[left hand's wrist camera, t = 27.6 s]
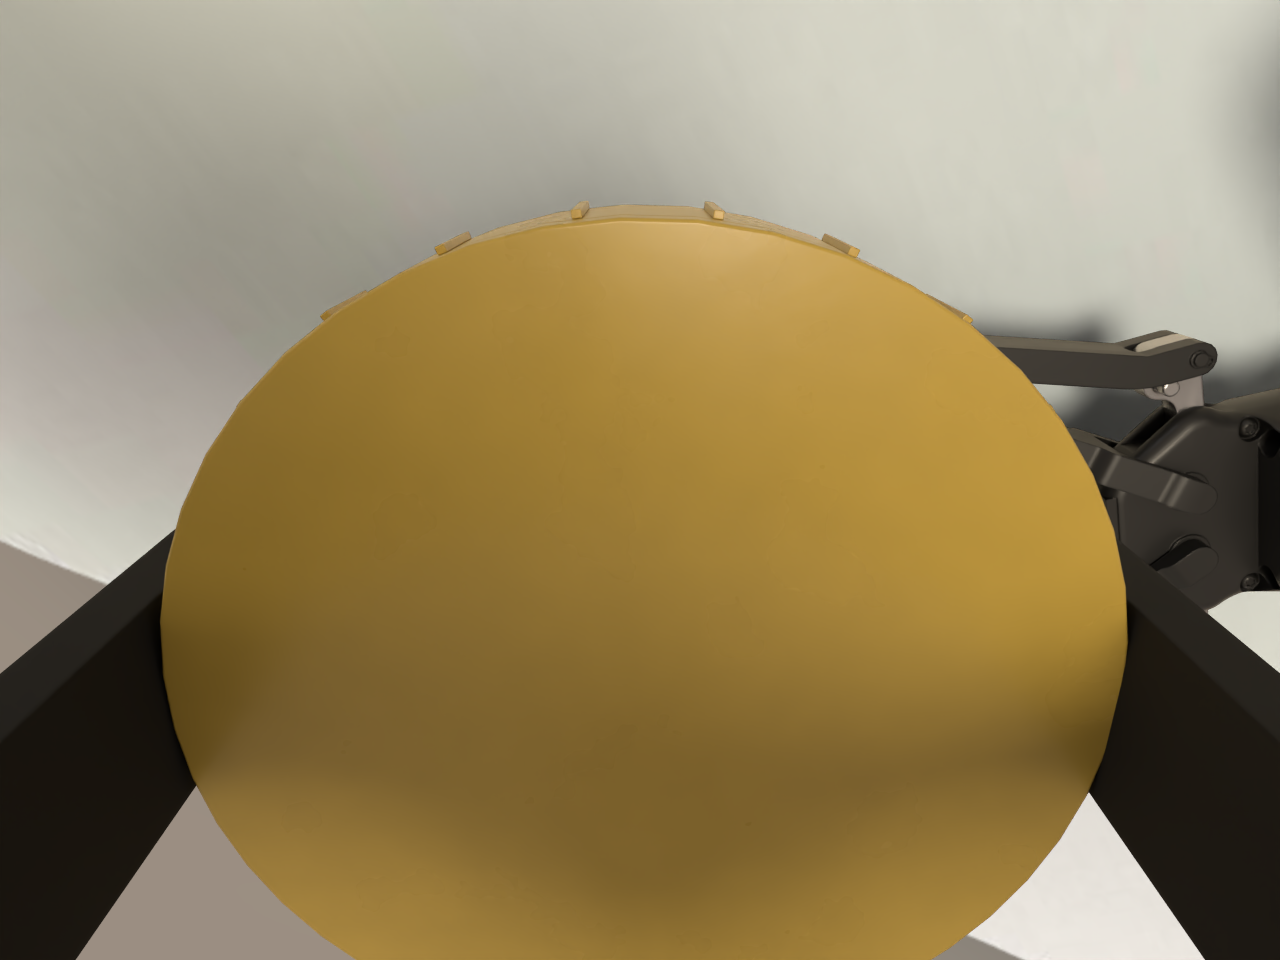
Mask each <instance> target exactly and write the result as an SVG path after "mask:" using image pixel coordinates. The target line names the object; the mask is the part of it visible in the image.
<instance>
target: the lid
mask: <svg viewBox="0 0 1280 960" xmlns="http://www.w3.org/2000/svg"><path fill="white" fill-rule="evenodd" d="M435 250H436V252H437V254H435V255H433V256H431V257H429V258H427V259H425V260H424V261H422V262H420V263H418V264H416V265H414V266H412V267H410V268H409V269H407V270H405V271H403V272H401V273H399V274H398V275H396V276H394V277H392V278H391V279H389V280H387V281H386V282H384V283H382V284H381V285H379V286H377V287H375V288H374V289H372V290H370V291H369V292H367V291H366V290H365V291H363V292H361V293H359V294H357V295H355V296H353V297H352V298H350V299H348V300H346V301H344V302H342V303H340V304H338V305H336V306H335V307H333V308H331V309H329V310H327V311H326V312H324V313H323V314H322V315H321V316H320V317H321V318H322V319H323V320H324V321H323V322H322V323H321V324H320V325H318V326H317V327H316V328H315V329H314V330H312V331H311V332H310V333H309V334H307V335H306V336H305V337H304V338H302V339H301V340H300V341H299V342H297V343H296V344H295V345H294V346H293V347H291V348H290V349H289V350H288V351H286V352H285V353H284V354H283V355H282V356H281V358H280V359H279V360H278V361H277V362H276V363H275V364H274V365H273V366H272V367H271V369H270V370H269V371H268V372H267V373H266V374H265V375H264V376H263V377H262V378H261V379H260V381H259V382H258V383H257V384H256V385H255V386H254V387H253V388H252V389H251V390H250V392H249V393H248V394H247V395H246V396H245V397H244V398H243V399H242V400H241V401H240V402H239V404H238V405H237V408H236V409H235V411H234V412H233V414H232V415H231V417H230V418H229V420H228V421H227V423H226V424H225V426H224V427H223V429H222V430H221V432H220V433H219V435H218V436H217V438H216V439H215V441H214V442H213V444H212V445H211V447H210V449H209V450H208V452H207V453H206V455H205V457H204V459H203V462H202V464H201V466H200V468H199V470H198V473H197V475H196V477H195V479H194V481H193V484H192V486H191V488H190V490H189V493H188V495H187V497H186V499H185V501H184V504H183V506H182V508H181V511H180V515H179V519H178V522H177V526H176V530H175V534H174V537H173V541H172V545H171V548H170V552H169V556H168V560H167V563H166V570H165V579H164V589H163V599H162V609H161V618H160V629H161V647H162V665H163V678H164V683H165V688H166V692H167V697H168V702H169V707H170V711H171V716H172V721H173V725H174V729H175V732H176V735H177V738H178V740H179V743H180V746H181V748H182V751H183V754H184V756H185V759H186V762H187V765H188V767H189V770H190V773H191V775H192V778H193V780H194V782H195V784H196V785H197V787H198V789H199V791H200V793H201V795H202V796H203V798H204V800H205V802H206V804H207V806H208V808H209V809H210V811H211V813H212V815H213V817H214V819H215V821H216V823H217V824H218V825H219V827H220V828H221V830H222V831H223V832H224V834H225V835H226V837H227V838H228V839H229V841H230V842H231V843H232V845H233V846H234V848H235V849H236V850H237V852H238V853H239V855H240V856H241V857H242V859H243V860H244V862H245V863H246V864H247V866H248V867H249V868H250V869H251V870H252V871H253V872H254V873H255V874H256V875H257V876H258V877H259V879H260V880H261V881H262V882H263V883H264V884H265V885H266V886H267V887H268V888H269V889H270V890H271V891H272V892H273V894H274V895H275V896H276V897H277V898H278V899H279V900H280V901H281V902H282V903H283V904H284V905H285V906H286V907H288V908H289V909H290V910H291V911H292V912H293V913H295V914H296V915H297V916H298V917H299V918H300V919H302V920H303V921H304V922H305V923H306V924H307V925H309V926H310V927H311V928H312V929H313V930H315V931H316V932H317V933H318V934H319V935H320V936H322V937H323V938H325V939H326V940H328V941H329V942H331V943H332V944H334V945H335V946H336V947H338V948H339V949H341V950H342V951H344V952H345V953H347V954H348V955H350V956H351V957H353V958H354V959H356V960H931V959H933V958H934V957H936V956H938V955H939V954H941V953H943V952H944V951H946V950H947V949H949V948H951V947H952V946H953V945H954V944H956V943H957V942H958V941H960V940H961V939H962V938H963V937H965V936H966V935H967V934H969V933H970V932H971V931H972V930H974V929H975V928H976V927H978V926H979V925H980V924H981V923H983V922H984V921H985V920H986V919H988V918H989V917H990V916H991V915H992V914H993V913H995V912H996V911H997V910H998V909H999V908H1000V907H1001V906H1002V905H1003V904H1004V903H1005V902H1006V901H1007V900H1008V899H1009V898H1010V897H1011V896H1012V895H1013V894H1014V893H1015V892H1016V891H1017V890H1018V889H1019V888H1020V887H1021V886H1022V885H1023V884H1024V883H1025V882H1026V881H1027V880H1028V879H1029V878H1030V876H1031V875H1032V874H1033V873H1034V871H1035V870H1036V869H1037V868H1038V866H1039V865H1040V864H1041V863H1042V861H1043V860H1044V859H1045V858H1046V856H1047V855H1048V854H1049V853H1050V851H1051V850H1052V849H1053V848H1054V846H1055V845H1056V844H1057V843H1058V841H1059V840H1060V839H1061V837H1062V835H1063V834H1064V832H1065V830H1066V829H1067V827H1068V825H1069V824H1070V822H1071V820H1072V819H1073V817H1074V816H1075V814H1076V812H1077V811H1078V809H1079V807H1080V806H1081V804H1082V802H1083V801H1084V799H1085V797H1086V796H1087V794H1088V791H1089V789H1090V787H1091V784H1092V782H1093V780H1094V778H1095V775H1096V773H1097V771H1098V768H1099V766H1100V764H1101V761H1102V759H1103V755H1104V752H1105V749H1106V745H1107V740H1108V736H1109V732H1110V728H1111V724H1112V720H1113V716H1114V712H1115V708H1116V703H1117V699H1118V695H1119V691H1120V687H1121V682H1122V678H1123V673H1124V668H1125V663H1126V654H1127V645H1128V635H1127V610H1126V587H1125V582H1124V577H1123V572H1122V567H1121V562H1120V557H1119V552H1118V547H1117V542H1116V537H1115V532H1114V529H1113V526H1112V523H1111V521H1110V518H1109V515H1108V513H1107V510H1106V507H1105V505H1104V502H1103V499H1102V497H1101V494H1100V492H1099V489H1098V486H1097V484H1096V481H1095V478H1094V476H1093V473H1092V472H1091V470H1090V468H1089V466H1088V465H1087V463H1086V461H1085V460H1084V458H1083V456H1082V454H1081V453H1080V451H1079V449H1078V447H1077V446H1076V444H1075V442H1074V440H1073V439H1072V437H1071V435H1070V433H1069V432H1068V430H1067V428H1066V427H1065V425H1064V423H1063V421H1062V420H1061V419H1060V417H1059V416H1058V415H1057V414H1056V412H1055V410H1054V409H1053V407H1052V406H1051V405H1050V404H1048V403H1047V401H1046V400H1045V399H1044V398H1043V396H1042V395H1041V394H1040V393H1039V391H1038V390H1037V389H1036V388H1035V386H1034V385H1033V384H1032V383H1031V381H1030V380H1029V379H1028V378H1027V377H1026V375H1025V374H1024V373H1023V372H1022V370H1021V369H1020V368H1018V367H1017V366H1016V365H1015V364H1014V363H1013V362H1012V361H1011V360H1010V359H1009V358H1007V357H1006V356H1005V355H1004V354H1003V353H1002V352H1001V351H1000V350H999V349H997V348H996V347H995V346H994V345H993V344H992V343H991V342H990V341H989V340H988V339H986V338H985V337H984V336H983V335H982V334H981V333H980V332H979V331H978V330H977V329H975V328H974V327H973V326H972V325H971V324H970V323H971V322H972V321H973V319H972V318H970V317H969V316H968V315H967V314H965V313H963V312H961V311H959V310H957V309H955V308H953V307H951V306H949V305H947V304H946V303H944V302H942V301H940V300H938V299H936V298H934V297H932V296H930V295H928V294H924V293H923V292H921V291H920V290H918V289H917V288H915V287H914V286H912V285H911V284H909V283H907V282H905V281H903V280H901V279H899V278H897V277H895V276H893V275H891V274H889V273H887V272H885V271H884V270H882V269H880V268H878V267H876V266H874V265H872V264H870V263H868V262H866V261H864V260H862V259H860V258H858V257H857V256H858V254H859V251H860V250H859V249H857V248H855V247H853V246H851V245H849V244H847V243H845V242H843V241H840V240H838V239H836V238H834V237H832V236H830V235H827V234H824V236H823V238H822V240H820V239H818V238H815V237H813V236H811V235H808V234H805V233H802V232H799V231H795V230H792V229H789V228H786V227H782V226H779V225H776V224H773V223H770V222H766V221H763V220H760V219H757V218H754V217H750V216H744V215H738V214H732V213H726V212H725V211H724V210H722V209H721V208H720V207H719V206H717V205H716V204H715V203H713V202H705V205H704V209H701V208H695V207H689V206H656V205H616V206H607V207H599V208H590V209H589V201H582V202H579V203H578V204H577V205H576V206H575V207H574V208H573V209H572V210H571V211H563V212H557V213H553V214H550V215H546V216H542V217H538V218H534V219H530V220H526V221H522V222H518V223H514V224H510V225H507V226H503V227H499V228H496V229H494V230H491V231H489V232H487V233H484V234H482V235H479V236H477V237H474V238H472V239H471V236H470V234H469V232H465V233H463V234H460V235H458V236H456V237H454V238H452V239H450V240H448V241H446V242H444V243H442V244H440V245H438V246H436V247H435Z"/></svg>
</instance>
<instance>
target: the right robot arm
mask: <svg viewBox="0 0 1280 960" xmlns="http://www.w3.org/2000/svg"><path fill="white" fill-rule="evenodd" d="M983 336H984V337H985V338H986V339H988V340H989V341H990V342H991V343H992V344H993V345H994V346H995V347H996V348H997V349H999V350H1000V351H1001V352H1002V353H1003V354H1004V355H1005V356H1006V357H1007V358H1009V359H1010V360H1011V361H1012V362H1013V363H1014V364H1015V365H1016V366H1017V367H1018V368H1020V369H1021V370H1022V372H1023V373H1024V374H1025V375H1026V377H1027V378H1028V379H1029V380H1030V381H1031V383H1033V384H1049V385H1065V386H1081V387H1097V388H1113V389H1133V390H1134V391H1136V392H1137V393H1139V394H1141V395H1143V396H1146V397H1148V398H1150V399H1153V400H1161V401H1162V404H1163V405H1161V406H1159V407H1158V408H1157V409H1156V410H1154V411H1153V412H1152V413H1151V414H1150V415H1149V416H1148V417H1147V418H1146V419H1145V420H1143V421H1142V422H1141V423H1140V424H1139V425H1138V426H1137V427H1136V428H1135V429H1133V430H1132V431H1131V432H1130V433H1129V434H1128V435H1127V436H1126V437H1125V438H1124V439H1122V440H1121V441H1120V442H1118V441H1114V440H1111V439H1108V438H1105V437H1102V436H1098V435H1095V434H1092V433H1089V432H1086V431H1083V430H1079V429H1076V428H1067V427H1066V428H1067V430H1068V432H1069V433H1070V435H1071V437H1072V439H1073V440H1074V442H1075V444H1076V446H1077V447H1078V449H1079V451H1080V453H1081V454H1082V456H1083V458H1084V460H1085V461H1086V463H1087V465H1088V466H1089V468H1090V470H1091V472H1092V473H1093V476H1094V478H1095V481H1096V484H1097V486H1098V489H1099V492H1100V494H1101V497H1102V499H1103V502H1104V505H1105V507H1106V510H1107V513H1108V515H1109V518H1110V521H1111V523H1112V526H1113V529H1114V532H1115V537H1116V538H1117V539H1118V540H1119V541H1120V542H1122V543H1123V544H1124V545H1125V546H1126V547H1128V548H1129V549H1130V550H1131V551H1132V552H1134V553H1135V554H1136V555H1137V556H1139V557H1140V558H1141V559H1142V560H1143V561H1145V562H1146V563H1147V564H1148V565H1149V566H1151V567H1152V568H1153V569H1154V570H1155V571H1157V572H1158V573H1159V574H1160V575H1161V576H1163V577H1164V578H1165V579H1166V580H1168V581H1169V582H1170V583H1171V584H1172V585H1174V586H1175V587H1176V588H1177V589H1178V590H1180V591H1181V592H1182V593H1183V594H1184V595H1186V596H1187V597H1188V598H1189V599H1191V600H1192V601H1193V602H1194V603H1195V604H1197V605H1198V606H1199V607H1200V608H1201V609H1203V610H1204V611H1205V612H1206V613H1207V614H1208V610H1209V609H1211V608H1213V607H1215V606H1217V605H1219V604H1220V603H1221V602H1223V601H1224V600H1226V599H1228V598H1229V597H1231V596H1233V595H1236V594H1238V593H1241V592H1247V591H1280V388H1278V389H1273V390H1268V391H1264V392H1259V393H1254V394H1250V395H1245V396H1241V397H1236V398H1231V399H1227V400H1224V401H1222V402H1220V403H1217V404H1205V403H1204V393H1203V381H1202V375H1204V374H1206V373H1208V372H1209V371H1210V370H1211V369H1212V368H1213V367H1214V365H1215V363H1216V362H1217V355H1218V354H1217V351H1216V349H1215V348H1214V347H1213V346H1212V344H1209V343H1206V342H1202V341H1199V340H1197V339H1194V338H1191V337H1187V336H1184V335H1181V334H1177V333H1174V332H1171V331H1167V330H1163V331H1157V332H1154V333H1150V334H1146V335H1143V336H1139V337H1136V338H1132V339H1128V340H1125V341H1121V342H1117V343H1100V342H1084V341H1068V340H1052V339H1036V338H1020V337H1004V336H988V335H983Z"/></svg>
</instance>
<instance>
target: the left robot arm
mask: <svg viewBox="0 0 1280 960" xmlns="http://www.w3.org/2000/svg"><path fill="white" fill-rule="evenodd" d="M175 530H176V529H175ZM175 530H174V531H172V532H171V533H170V534H169V535H168V536H166V537H165V538H164V539H163V540H161V541H160V542H159V543H158V544H157V545H155V546H154V547H153V548H152V549H151V550H149V551H148V552H147V553H146V554H145V555H143V556H142V557H141V558H140V559H138V560H137V561H136V562H135V563H134V564H132V565H131V566H130V567H129V568H128V569H126V570H125V571H124V572H123V573H122V574H120V575H119V576H118V577H117V578H116V579H114V580H113V581H112V582H111V583H109V584H108V585H107V586H106V587H105V588H103V589H102V590H101V591H100V592H99V593H97V594H96V595H95V596H94V597H93V598H91V599H90V600H89V601H88V602H87V603H85V604H84V605H83V606H82V607H80V608H79V609H78V610H77V611H76V612H74V613H73V614H72V615H71V616H70V617H68V618H67V619H66V620H65V621H64V622H62V623H61V624H60V625H59V626H57V627H56V628H55V629H54V630H53V631H51V632H50V633H49V634H48V635H47V636H45V637H44V638H43V639H42V640H41V641H39V642H38V643H37V644H36V645H35V646H33V647H32V648H31V649H30V650H28V651H27V652H26V653H25V654H24V655H22V656H21V657H20V658H19V659H18V660H16V661H15V662H14V663H13V664H12V665H10V666H9V667H8V668H7V669H6V670H4V671H3V672H2V673H1V674H0V960H76V958H77V957H78V956H79V954H80V953H81V951H82V950H83V948H84V947H85V945H86V944H87V943H88V941H89V940H90V938H91V937H92V935H93V934H94V932H95V931H96V929H97V928H98V927H99V925H100V924H101V922H102V921H103V919H104V918H105V916H106V915H107V914H108V912H109V911H110V909H111V908H112V906H113V905H114V904H115V902H116V901H117V899H118V898H119V896H120V895H121V893H122V892H123V891H124V889H125V888H126V886H127V885H128V883H129V882H130V880H131V879H132V878H133V876H134V875H135V873H136V872H137V870H138V869H139V867H140V866H141V865H142V863H143V862H144V860H145V859H146V857H147V856H148V854H149V853H150V852H151V850H152V849H153V847H154V846H155V844H156V843H157V841H158V840H159V838H160V837H161V836H162V834H163V833H164V831H165V830H166V828H167V827H168V826H169V824H170V823H171V821H172V820H173V818H174V817H175V815H176V814H177V813H178V811H179V810H180V808H181V807H182V805H183V804H184V802H185V801H186V800H187V798H188V797H189V795H190V794H191V792H192V791H193V789H194V788H195V787H196V784H195V782H194V780H193V778H192V775H191V773H190V770H189V767H188V765H187V762H186V759H185V756H184V754H183V751H182V748H181V746H180V743H179V740H178V738H177V735H176V732H175V729H174V725H173V721H172V716H171V711H170V707H169V702H168V697H167V692H166V688H165V683H164V678H163V665H162V647H161V629H160V618H161V609H162V599H163V589H164V579H165V570H166V563H167V560H168V556H169V552H170V548H171V545H172V541H173V537H174V534H175ZM1116 542H1117V547H1118V552H1119V557H1120V562H1121V567H1122V572H1123V577H1124V582H1125V587H1126V610H1127V635H1128V645H1127V654H1126V663H1125V668H1124V673H1123V678H1122V682H1121V687H1120V691H1119V695H1118V699H1117V703H1116V708H1115V712H1114V716H1113V720H1112V724H1111V728H1110V732H1109V736H1108V740H1107V745H1106V749H1105V752H1104V755H1103V759H1102V761H1101V764H1100V766H1099V768H1098V771H1097V773H1096V775H1095V778H1094V780H1093V782H1092V784H1091V787H1090V789H1089V793H1090V794H1091V796H1092V797H1093V799H1094V800H1095V802H1096V803H1097V804H1098V806H1099V807H1100V809H1101V810H1102V812H1103V813H1104V815H1105V816H1106V817H1107V819H1108V820H1109V822H1110V823H1111V825H1112V826H1113V828H1114V829H1115V830H1116V832H1117V833H1118V835H1119V836H1120V838H1121V839H1122V841H1123V842H1124V843H1125V845H1126V846H1127V848H1128V849H1129V851H1130V852H1131V854H1132V855H1133V856H1134V858H1135V859H1136V861H1137V862H1138V864H1139V865H1140V867H1141V868H1142V869H1143V871H1144V872H1145V874H1146V875H1147V877H1148V878H1149V880H1150V881H1151V882H1152V884H1153V885H1154V887H1155V888H1156V890H1157V891H1158V893H1159V894H1160V895H1161V897H1162V898H1163V900H1164V901H1165V903H1166V904H1167V906H1168V907H1169V908H1170V910H1171V911H1172V913H1173V914H1174V916H1175V917H1176V919H1177V920H1178V921H1179V923H1180V924H1181V926H1182V927H1183V929H1184V930H1185V932H1186V933H1187V934H1188V936H1189V937H1190V939H1191V940H1192V942H1193V943H1194V945H1195V946H1196V947H1197V949H1198V950H1199V952H1200V953H1201V955H1202V956H1203V958H1204V959H1205V960H1280V673H1279V672H1278V671H1276V670H1275V669H1274V668H1273V667H1272V666H1270V665H1269V664H1268V663H1267V662H1265V661H1264V660H1263V659H1262V658H1261V657H1259V656H1258V655H1257V654H1256V653H1255V652H1253V651H1252V650H1251V649H1250V648H1249V647H1247V646H1246V645H1245V644H1244V643H1243V642H1241V641H1240V640H1239V639H1238V638H1236V637H1235V636H1234V635H1233V634H1232V633H1230V632H1229V631H1228V630H1227V629H1226V628H1224V627H1223V626H1222V625H1221V624H1220V623H1218V622H1217V621H1216V620H1215V619H1213V618H1212V617H1211V616H1210V615H1209V614H1207V613H1206V612H1205V611H1204V610H1203V609H1201V608H1200V607H1199V606H1198V605H1197V604H1195V603H1194V602H1193V601H1192V600H1191V599H1189V598H1188V597H1187V596H1186V595H1184V594H1183V593H1182V592H1181V591H1180V590H1178V589H1177V588H1176V587H1175V586H1174V585H1172V584H1171V583H1170V582H1169V581H1168V580H1166V579H1165V578H1164V577H1163V576H1161V575H1160V574H1159V573H1158V572H1157V571H1155V570H1154V569H1153V568H1152V567H1151V566H1149V565H1148V564H1147V563H1146V562H1145V561H1143V560H1142V559H1141V558H1140V557H1139V556H1137V555H1136V554H1135V553H1134V552H1132V551H1131V550H1130V549H1129V548H1128V547H1126V546H1125V545H1124V544H1123V543H1122V542H1120V541H1119V540H1118V539H1117V538H1116Z"/></svg>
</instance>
